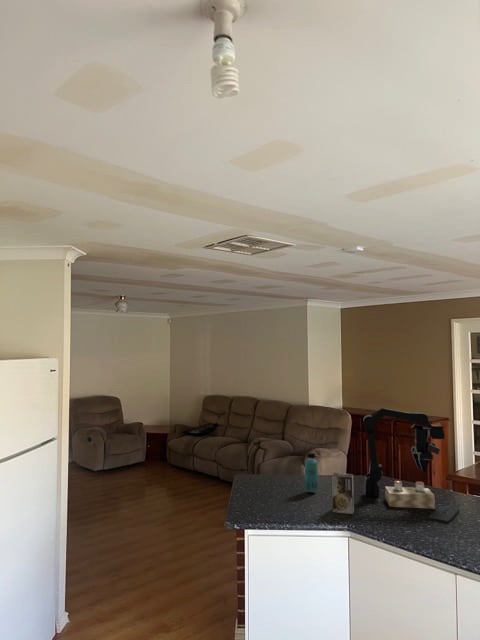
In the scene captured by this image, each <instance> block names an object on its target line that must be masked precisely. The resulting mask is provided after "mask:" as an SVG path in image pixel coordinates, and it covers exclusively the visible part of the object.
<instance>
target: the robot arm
mask: <svg viewBox="0 0 480 640" xmlns="http://www.w3.org/2000/svg"><path fill="white" fill-rule="evenodd" d="M384 417H389V418H394V419H399V420H405V421H409V422H412V423H414V424H413V425H411V429H412V430H414V431H415V434H414V435H415V436H414V438H415V439H414V443H415V446H414V445H413V446H412V447H410V452H411V454H412V457H413V459H414V461H415V464H416V467H417V468H418V469H421V471H422V473H423V474H426V473H427V468H428V466H429V463H430V462H431V461H433V460H434V455H433V453H434V454H435V455H438V456H439V454H440V452H441V448H440V447H438V446H436V443H433V442H430V441H428V439H429V438H431V440H441V441H443V440H445V430H444V426H443V425H442V424H441V425H432V423H430V421H429V417H428V415H427V414H425V413H424V412H419V411H418V412H417V411H412V412H411V411H410V412H409V411H401V410H397V409H390V408H386V407H380V408H379V409H378V410H376V411H374V412H373V413H371V414H367V415H365V416H364V417H363V426H364V429H365V432H366V436H367V445H368V454H369V467H368V469H369V471H368V473H367V474H366V475H365V476H364V477H365V481H364V491H363V494H364V496H365V497H367V498H368V497H369V498H380V486H379V483H378V482H379V481H381V479H382V476H383V474H384V473H383V470H382V467H383V466H382V463H379V462H378V456H377V447H376V445H377V444H376V437H375V431H376V423H377V422H379V421H380V420H382V418H384ZM424 426H425V427H424ZM428 437H429V438H428Z"/></svg>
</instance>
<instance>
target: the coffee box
mask: <svg viewBox="0 0 480 640" xmlns="http://www.w3.org/2000/svg"><path fill="white" fill-rule="evenodd" d="M332 473H333V474H332V476H331V483H332V485H331V486H332V490H331V491H332V513H339V514H349V515H350V514H351V515H354V512H355V499H354V497H355V495H354V492H355V491H354V487H355V486H354V474H353V473H344V472H332Z"/></svg>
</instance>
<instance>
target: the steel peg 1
mask: <svg viewBox="0 0 480 640" xmlns="http://www.w3.org/2000/svg"><path fill="white" fill-rule="evenodd" d="M393 487H394V491H398V492H402V487H403V481H401V480H394V481H393Z"/></svg>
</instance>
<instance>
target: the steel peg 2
mask: <svg viewBox="0 0 480 640" xmlns="http://www.w3.org/2000/svg"><path fill="white" fill-rule="evenodd" d="M415 488H416V492H421V493H424V488H425V483H424V482H423V481H415Z"/></svg>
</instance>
